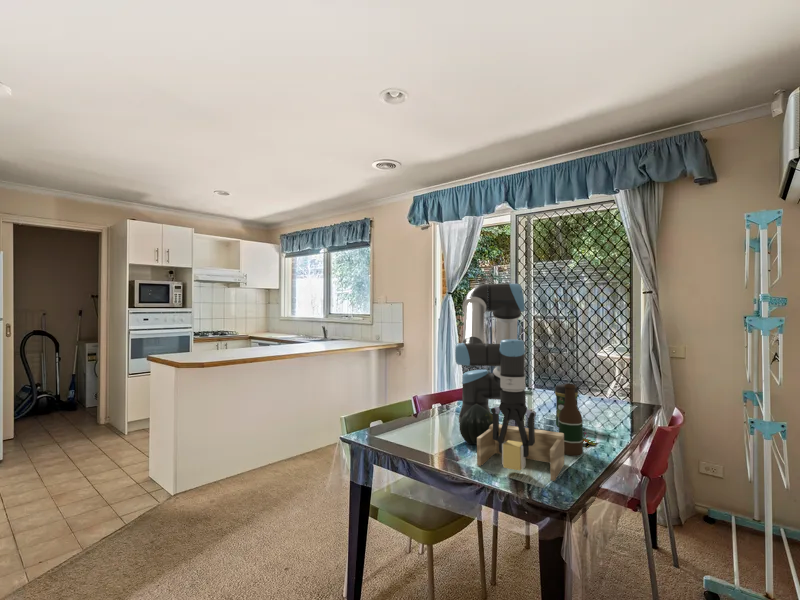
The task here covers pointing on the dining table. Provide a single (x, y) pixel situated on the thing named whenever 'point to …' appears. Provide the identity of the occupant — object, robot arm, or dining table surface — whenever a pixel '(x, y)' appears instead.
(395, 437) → the dining table surface
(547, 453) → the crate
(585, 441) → the lily flower
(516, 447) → the block
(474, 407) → the squash
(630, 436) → the dining table surface
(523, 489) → the dining table surface
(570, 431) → the beer bottle
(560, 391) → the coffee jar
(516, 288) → the robot arm
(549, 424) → the dining table surface
